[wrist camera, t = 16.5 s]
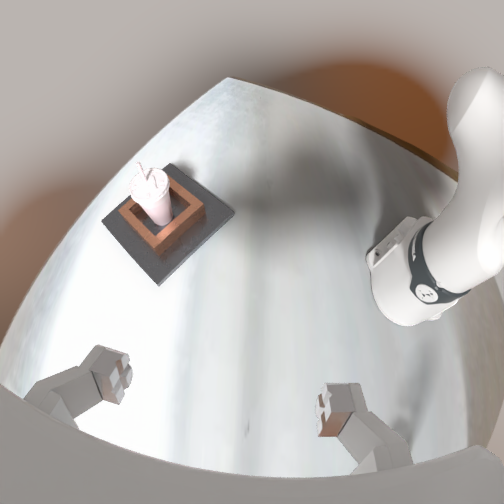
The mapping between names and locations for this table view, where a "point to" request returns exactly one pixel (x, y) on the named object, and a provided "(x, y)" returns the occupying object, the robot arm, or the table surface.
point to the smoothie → (152, 194)
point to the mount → (168, 226)
